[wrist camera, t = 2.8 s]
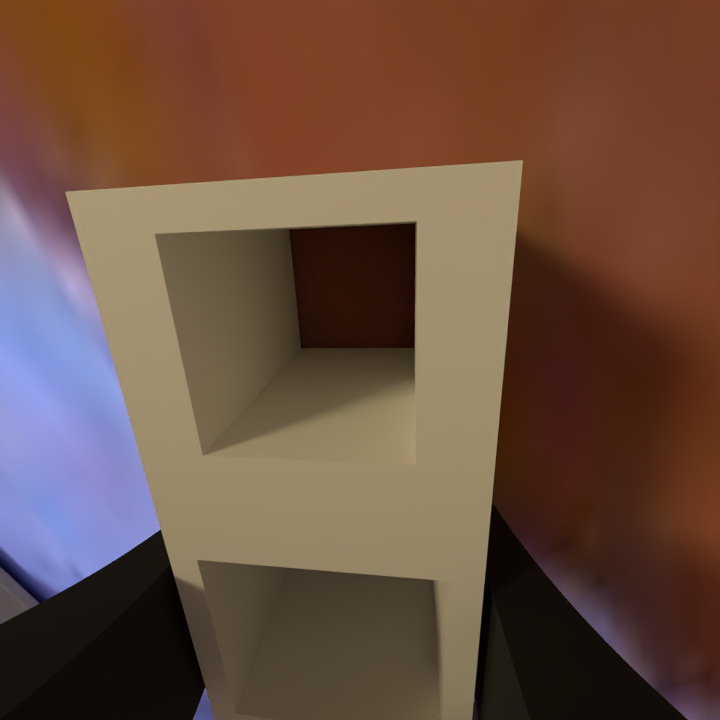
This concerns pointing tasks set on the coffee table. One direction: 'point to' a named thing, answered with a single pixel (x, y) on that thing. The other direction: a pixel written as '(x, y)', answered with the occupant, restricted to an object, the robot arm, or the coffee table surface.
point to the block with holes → (314, 433)
